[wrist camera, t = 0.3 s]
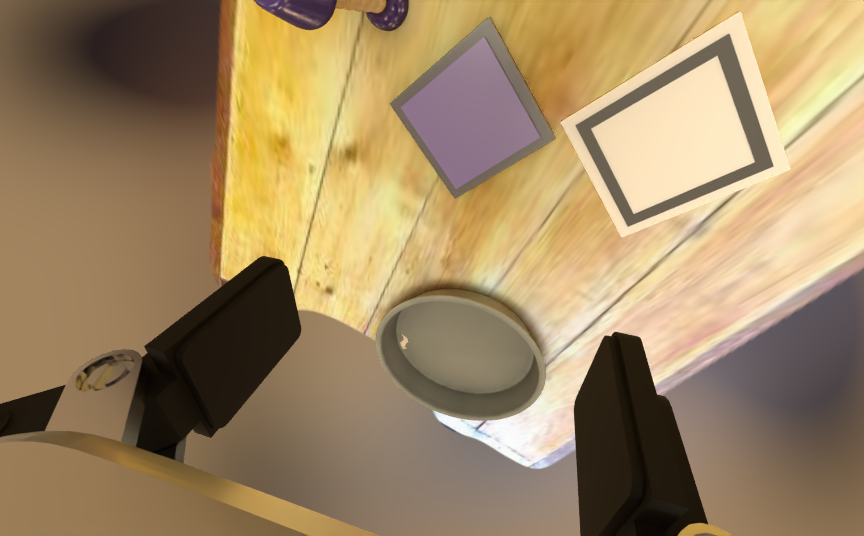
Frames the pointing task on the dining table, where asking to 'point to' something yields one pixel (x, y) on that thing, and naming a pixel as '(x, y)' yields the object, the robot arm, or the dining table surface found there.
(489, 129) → the ink pad
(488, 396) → the cake pan
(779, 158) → the marked card
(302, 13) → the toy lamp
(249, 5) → the dining table surface
